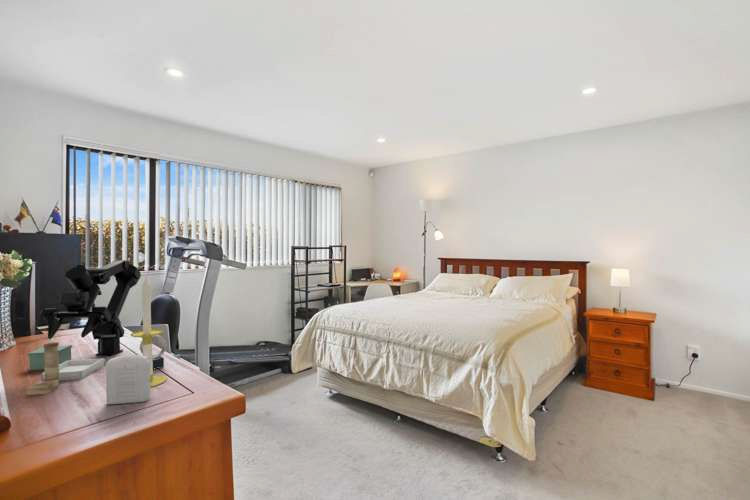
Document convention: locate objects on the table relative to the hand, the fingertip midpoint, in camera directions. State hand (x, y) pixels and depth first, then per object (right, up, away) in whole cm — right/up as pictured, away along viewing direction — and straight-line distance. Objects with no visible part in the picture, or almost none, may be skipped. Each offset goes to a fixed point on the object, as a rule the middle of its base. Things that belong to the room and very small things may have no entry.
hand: (65, 337), depth 118 cm
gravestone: (+32, -13, -18) cm, 39 cm away
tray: (-1, -13, +4) cm, 13 cm away
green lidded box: (-15, -13, +12) cm, 23 cm away
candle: (+29, -13, -5) cm, 32 cm away
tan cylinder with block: (+2, -13, -9) cm, 16 cm away
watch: (+22, -13, +10) cm, 27 cm away
